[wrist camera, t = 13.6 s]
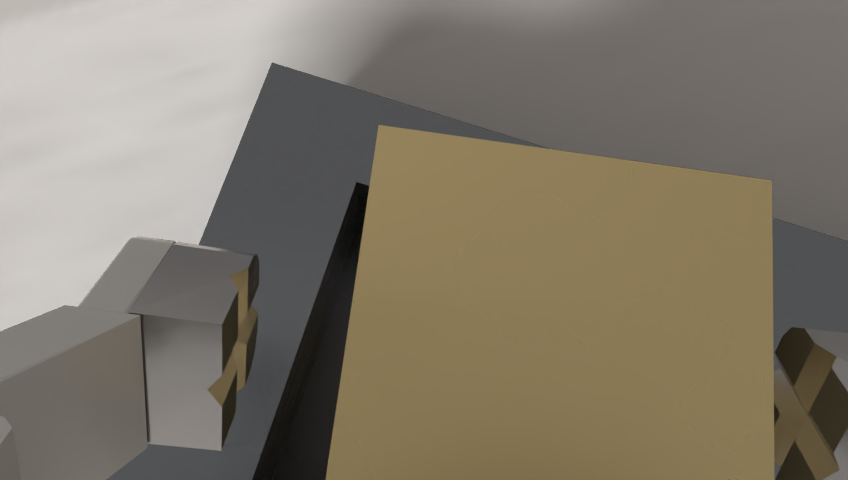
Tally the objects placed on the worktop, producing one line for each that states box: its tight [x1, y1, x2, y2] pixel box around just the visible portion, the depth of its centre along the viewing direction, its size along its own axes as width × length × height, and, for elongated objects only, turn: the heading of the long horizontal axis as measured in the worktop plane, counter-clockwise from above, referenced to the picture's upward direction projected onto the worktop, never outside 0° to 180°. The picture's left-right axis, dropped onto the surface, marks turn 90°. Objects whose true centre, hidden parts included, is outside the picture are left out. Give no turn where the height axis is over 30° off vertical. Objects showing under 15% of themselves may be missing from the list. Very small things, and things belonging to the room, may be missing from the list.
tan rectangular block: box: [326, 125, 774, 480], centre depth 12 cm, size 4×4×10 cm
